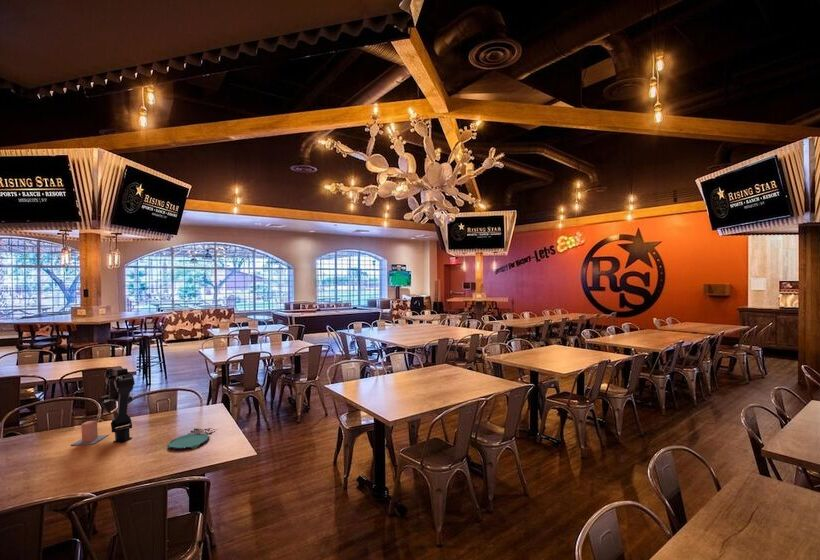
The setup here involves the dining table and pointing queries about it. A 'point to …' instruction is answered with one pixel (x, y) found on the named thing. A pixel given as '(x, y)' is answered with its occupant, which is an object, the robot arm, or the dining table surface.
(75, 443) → the slate mat
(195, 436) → the green leaf shaped mat
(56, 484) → the dining table surface
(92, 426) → the red block
